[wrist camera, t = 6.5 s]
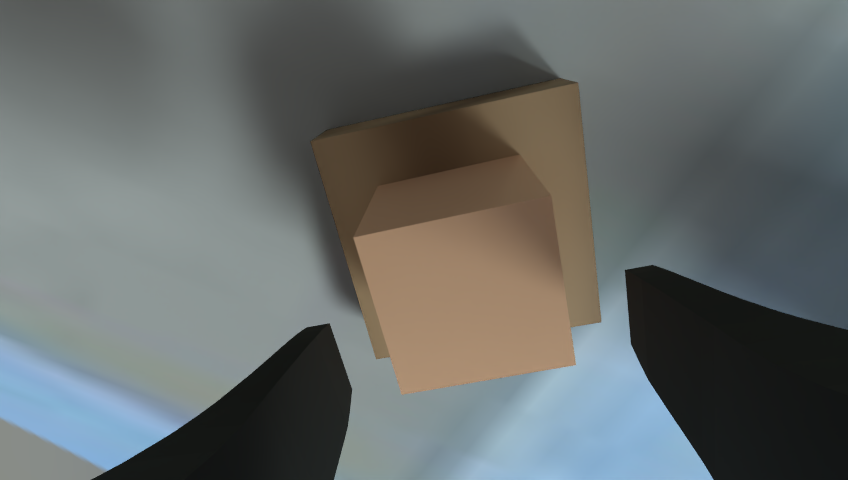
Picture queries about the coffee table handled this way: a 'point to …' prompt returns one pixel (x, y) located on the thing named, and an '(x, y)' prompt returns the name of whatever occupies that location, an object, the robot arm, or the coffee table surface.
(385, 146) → the tan flat block
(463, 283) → the cube
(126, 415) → the coffee table surface
